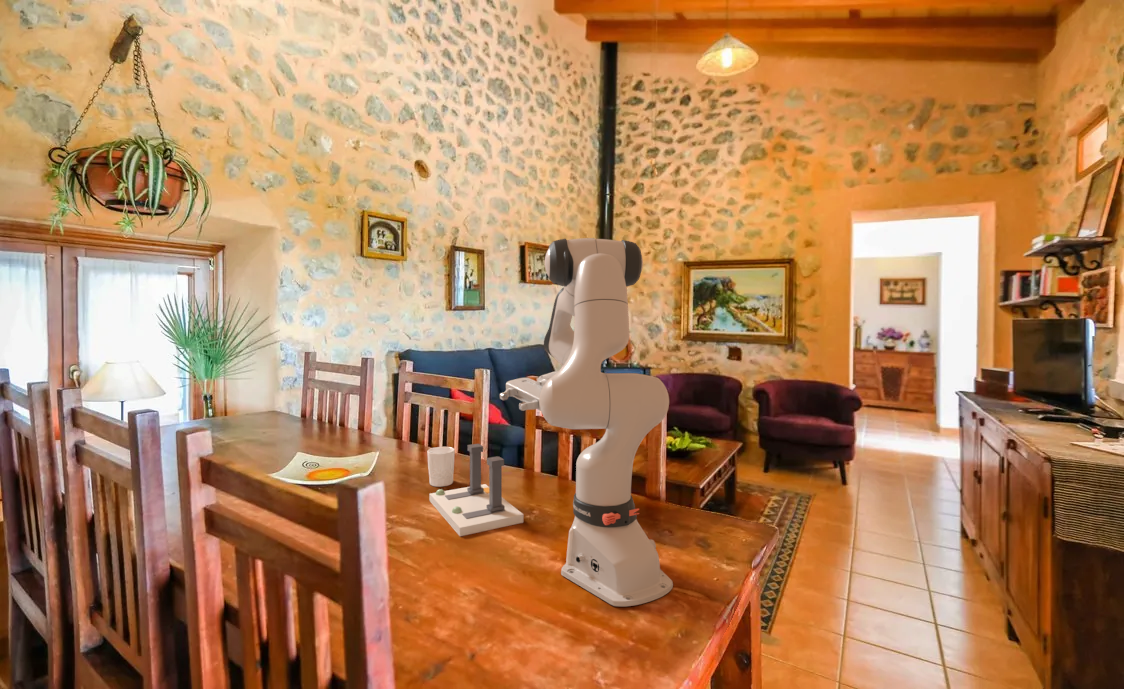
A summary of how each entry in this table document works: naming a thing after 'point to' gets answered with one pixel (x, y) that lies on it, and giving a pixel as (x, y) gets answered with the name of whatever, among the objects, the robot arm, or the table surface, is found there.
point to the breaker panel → (472, 511)
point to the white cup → (441, 466)
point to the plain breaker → (495, 483)
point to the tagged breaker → (475, 468)
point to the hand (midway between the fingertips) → (510, 402)
